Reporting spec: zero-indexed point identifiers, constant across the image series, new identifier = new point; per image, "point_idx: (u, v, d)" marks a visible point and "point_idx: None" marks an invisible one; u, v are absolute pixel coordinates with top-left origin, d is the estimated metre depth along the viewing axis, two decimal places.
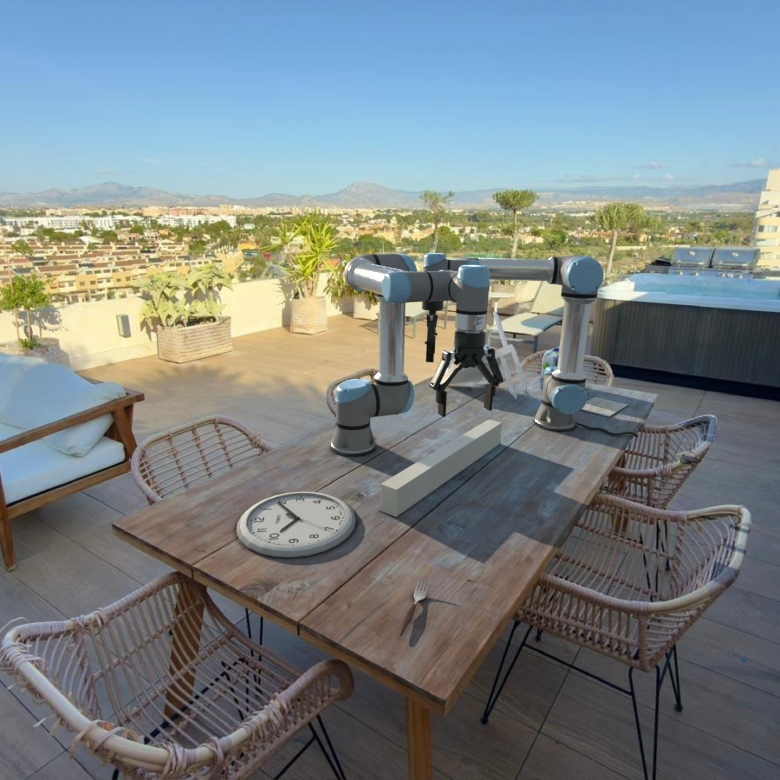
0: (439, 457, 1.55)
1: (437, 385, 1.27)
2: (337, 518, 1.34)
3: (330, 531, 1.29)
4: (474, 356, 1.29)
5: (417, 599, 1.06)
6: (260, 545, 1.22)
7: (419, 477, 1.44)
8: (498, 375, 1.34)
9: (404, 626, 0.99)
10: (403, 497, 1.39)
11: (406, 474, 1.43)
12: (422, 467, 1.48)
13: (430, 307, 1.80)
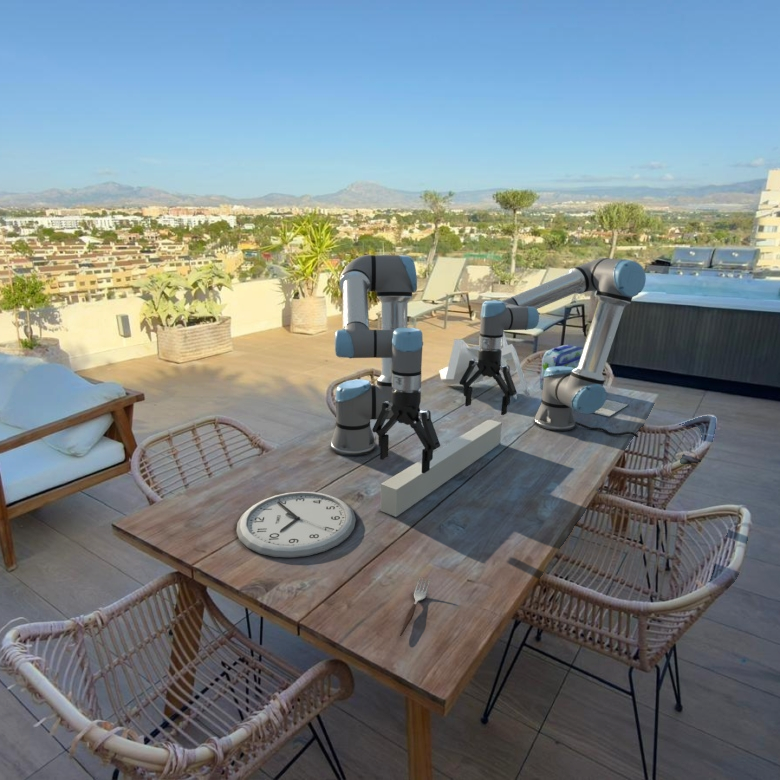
0: (439, 457, 1.55)
1: (375, 428, 1.42)
2: (337, 518, 1.34)
3: (330, 531, 1.29)
4: None
5: (417, 599, 1.06)
6: (260, 545, 1.22)
7: (419, 477, 1.44)
8: (429, 441, 1.32)
9: (404, 626, 0.99)
10: (403, 497, 1.39)
11: (406, 474, 1.43)
12: None
13: (499, 357, 1.70)
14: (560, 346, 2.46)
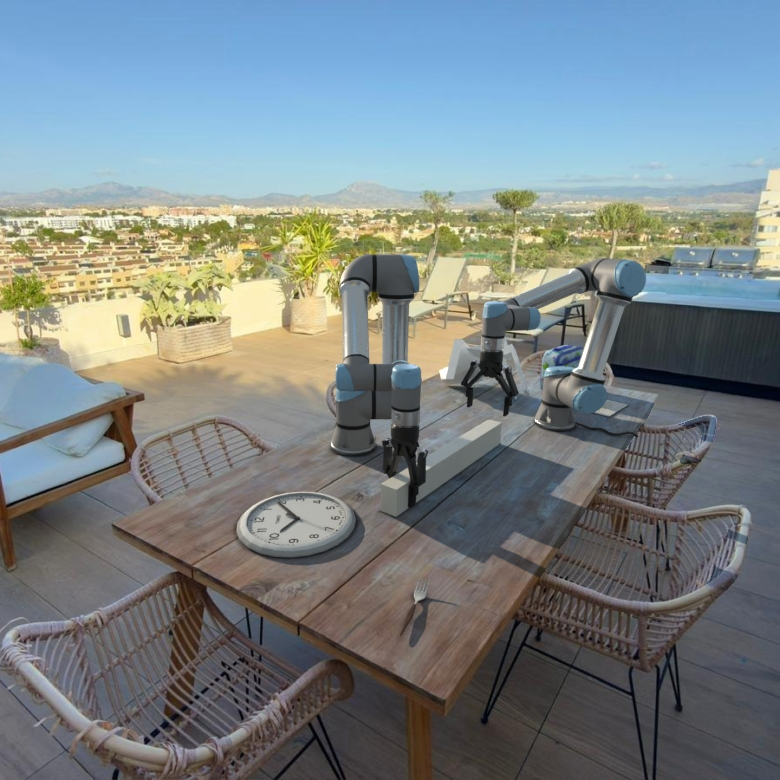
0: (439, 457, 1.55)
1: (385, 470, 1.44)
2: (337, 518, 1.34)
3: (330, 531, 1.29)
4: (403, 447, 1.37)
5: (417, 599, 1.06)
6: (260, 545, 1.22)
7: None
8: (417, 477, 1.37)
9: (404, 626, 0.99)
10: (403, 497, 1.39)
11: (406, 474, 1.43)
12: None
13: (501, 358, 1.70)
14: (560, 346, 2.46)
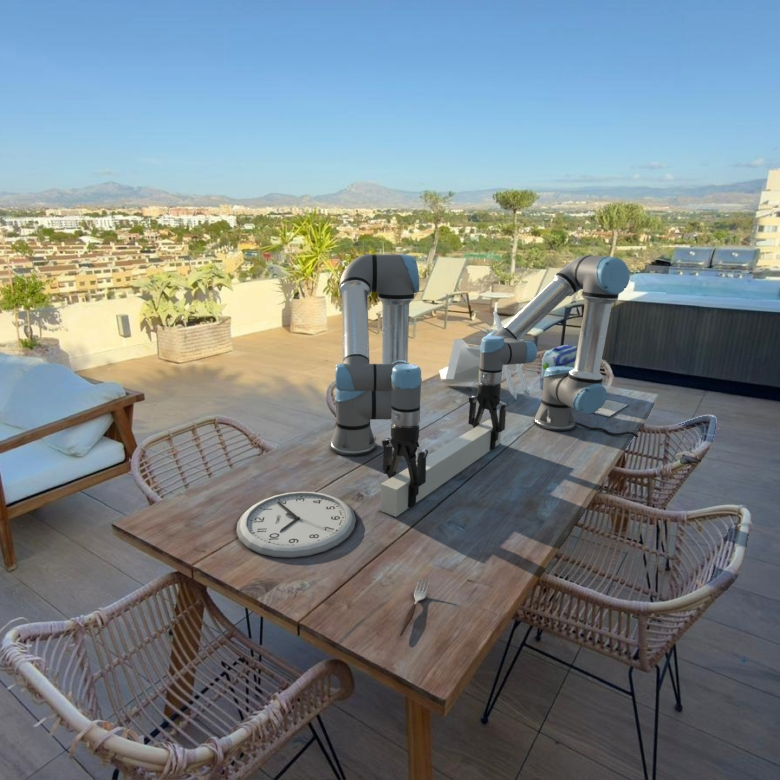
0: (439, 457, 1.55)
1: (385, 470, 1.44)
2: (337, 518, 1.34)
3: (330, 531, 1.29)
4: (403, 447, 1.37)
5: (417, 599, 1.06)
6: (260, 545, 1.22)
7: None
8: (417, 477, 1.37)
9: (404, 626, 0.99)
10: (403, 497, 1.39)
11: (406, 474, 1.43)
12: None
13: (498, 391, 1.73)
14: (560, 346, 2.46)
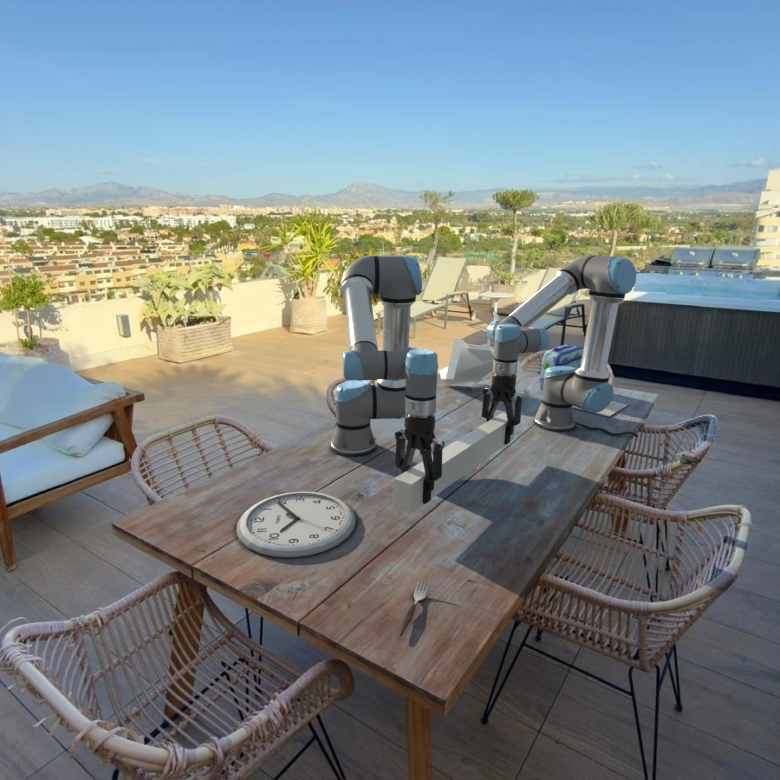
0: (454, 450, 1.46)
1: (397, 463, 1.35)
2: (337, 518, 1.34)
3: (330, 531, 1.29)
4: (418, 438, 1.28)
5: (417, 599, 1.06)
6: (260, 545, 1.22)
7: None
8: (433, 471, 1.28)
9: (404, 626, 0.99)
10: (417, 492, 1.29)
11: (421, 469, 1.34)
12: None
13: (513, 383, 1.64)
14: (560, 346, 2.46)
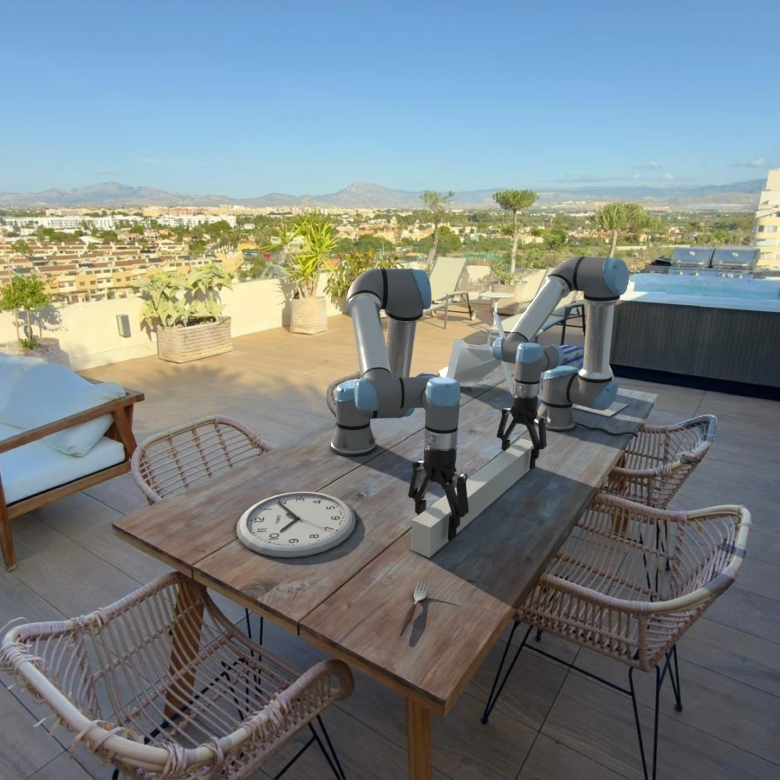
0: (474, 485, 1.38)
1: (411, 493, 1.27)
2: (337, 518, 1.34)
3: (330, 531, 1.29)
4: (438, 472, 1.20)
5: (417, 599, 1.06)
6: (260, 545, 1.22)
7: None
8: (459, 507, 1.19)
9: (404, 626, 0.99)
10: (437, 535, 1.22)
11: (439, 508, 1.27)
12: None
13: (536, 405, 1.56)
14: (560, 346, 2.46)
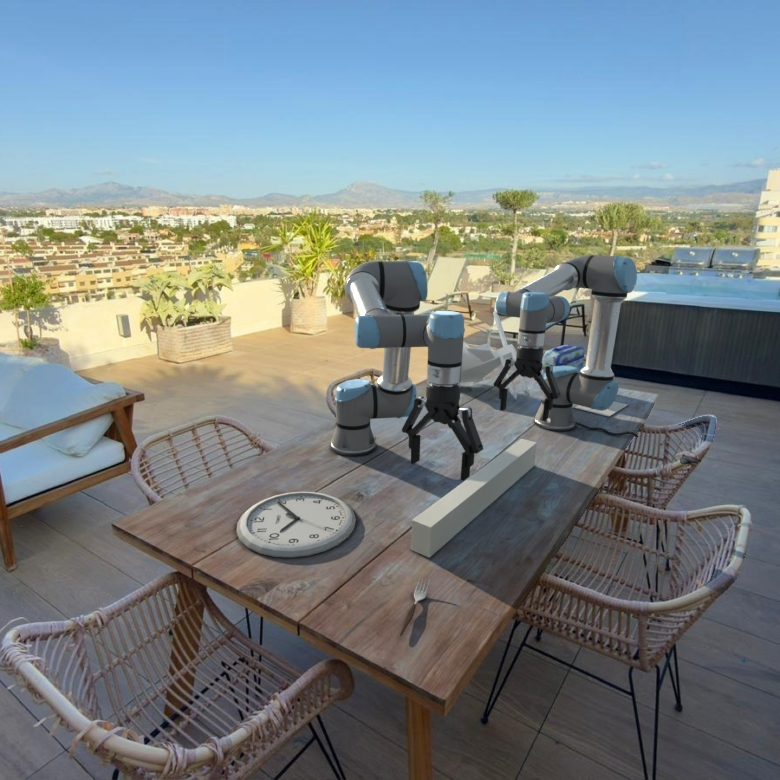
0: (474, 485, 1.38)
1: (405, 428, 1.23)
2: (337, 518, 1.34)
3: (330, 531, 1.29)
4: None
5: (417, 599, 1.06)
6: (260, 545, 1.22)
7: (454, 511, 1.27)
8: (471, 443, 1.13)
9: (404, 626, 0.99)
10: (437, 535, 1.22)
11: (439, 508, 1.27)
12: (456, 498, 1.31)
13: (541, 356, 1.51)
14: (560, 346, 2.46)
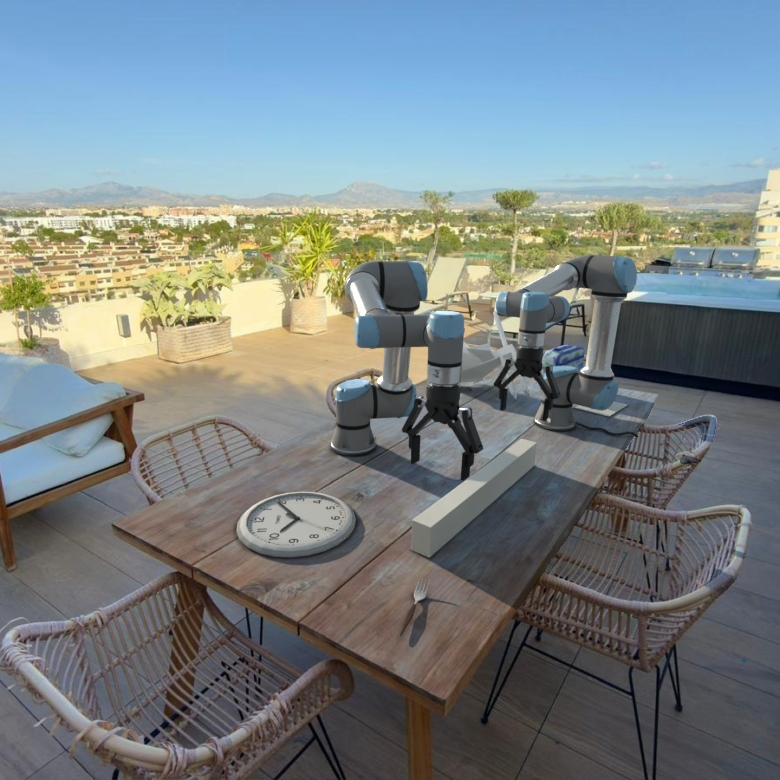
0: (474, 485, 1.38)
1: (405, 428, 1.23)
2: (337, 518, 1.34)
3: (330, 531, 1.29)
4: None
5: (417, 599, 1.06)
6: (260, 545, 1.22)
7: (454, 511, 1.27)
8: (471, 443, 1.13)
9: (404, 626, 0.99)
10: (437, 535, 1.22)
11: (439, 508, 1.27)
12: (456, 498, 1.31)
13: (541, 356, 1.51)
14: (560, 346, 2.46)
